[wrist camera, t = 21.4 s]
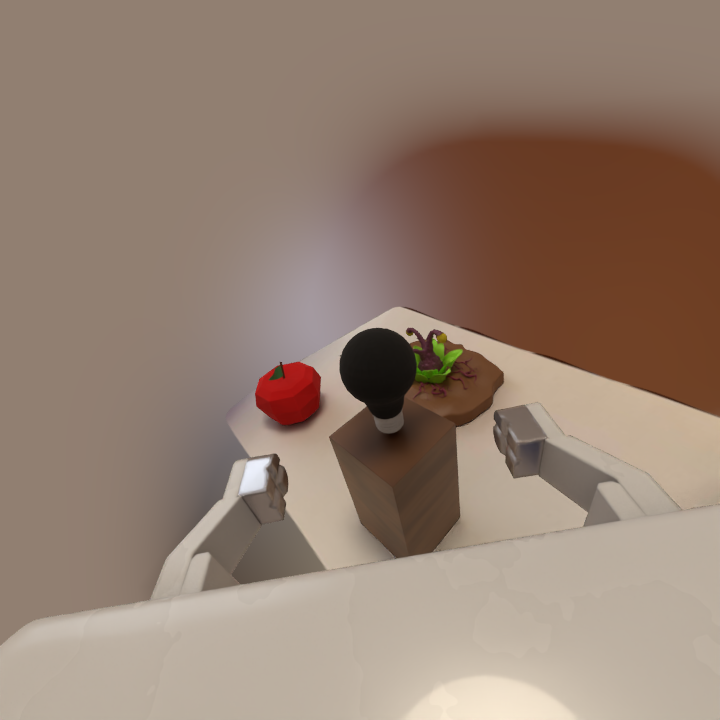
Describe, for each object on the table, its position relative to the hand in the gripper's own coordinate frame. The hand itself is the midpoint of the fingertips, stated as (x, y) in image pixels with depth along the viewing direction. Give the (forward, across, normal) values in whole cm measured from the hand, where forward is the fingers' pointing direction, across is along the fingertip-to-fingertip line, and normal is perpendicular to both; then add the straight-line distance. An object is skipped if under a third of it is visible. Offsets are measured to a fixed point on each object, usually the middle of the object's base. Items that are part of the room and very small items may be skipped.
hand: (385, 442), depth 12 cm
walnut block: (+12, 0, +27) cm, 30 cm away
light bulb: (+12, 0, +13) cm, 17 cm away
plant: (+34, -8, +28) cm, 45 cm away
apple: (+34, +15, +28) cm, 47 cm away
